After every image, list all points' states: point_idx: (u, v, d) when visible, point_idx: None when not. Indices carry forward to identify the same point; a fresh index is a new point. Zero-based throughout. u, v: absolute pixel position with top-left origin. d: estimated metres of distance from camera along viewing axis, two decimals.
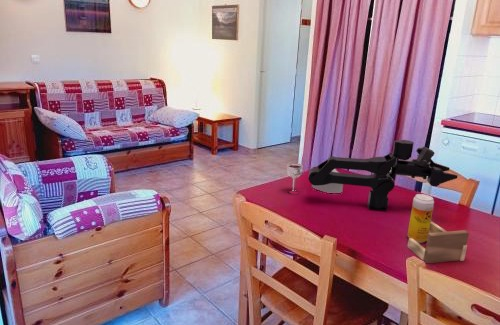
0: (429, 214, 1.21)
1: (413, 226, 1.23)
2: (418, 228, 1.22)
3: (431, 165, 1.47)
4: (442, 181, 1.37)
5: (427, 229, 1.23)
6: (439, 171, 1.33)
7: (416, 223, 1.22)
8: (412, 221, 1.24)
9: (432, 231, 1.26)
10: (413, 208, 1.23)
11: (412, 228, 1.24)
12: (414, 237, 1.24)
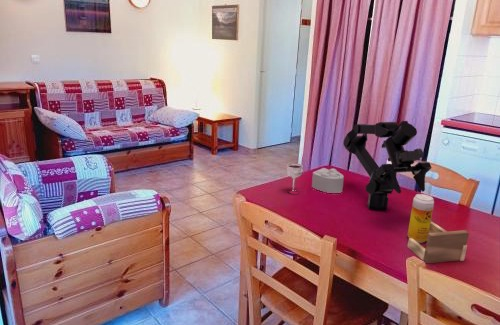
0: (429, 214, 1.21)
1: (413, 226, 1.23)
2: (418, 228, 1.22)
3: (419, 173, 1.33)
4: (387, 181, 1.32)
5: (427, 229, 1.23)
6: (384, 169, 1.28)
7: (416, 223, 1.22)
8: (412, 221, 1.24)
9: (432, 231, 1.26)
10: (413, 208, 1.23)
11: (412, 228, 1.24)
12: (414, 237, 1.24)
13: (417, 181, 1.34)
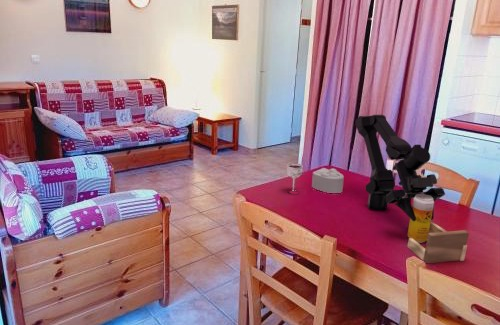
0: (429, 214, 1.21)
1: (413, 226, 1.23)
2: (418, 228, 1.22)
3: None
4: (402, 208, 1.26)
5: (427, 229, 1.23)
6: (394, 196, 1.22)
7: (416, 223, 1.22)
8: (412, 221, 1.24)
9: (432, 231, 1.26)
10: (413, 208, 1.23)
11: (412, 228, 1.24)
12: (414, 237, 1.24)
13: None
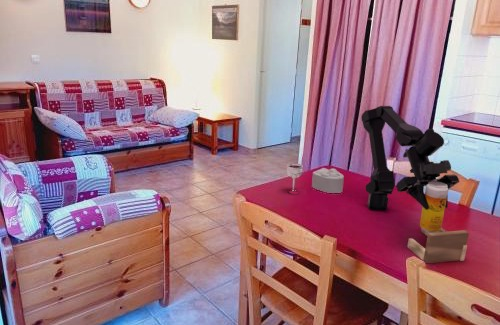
0: (443, 202, 1.14)
1: (426, 215, 1.17)
2: (431, 216, 1.16)
3: None
4: (413, 196, 1.19)
5: (441, 218, 1.16)
6: (406, 183, 1.16)
7: (429, 212, 1.16)
8: (425, 210, 1.17)
9: None
10: (426, 195, 1.16)
11: (425, 217, 1.17)
12: (427, 227, 1.17)
13: None
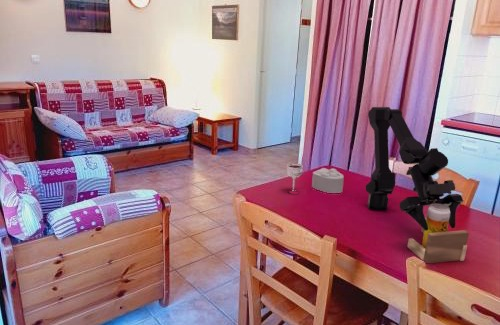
0: (445, 225, 1.13)
1: None
2: None
3: None
4: (413, 216, 1.18)
5: None
6: (409, 203, 1.14)
7: None
8: (427, 232, 1.16)
9: None
10: (427, 218, 1.16)
11: None
12: None
13: None
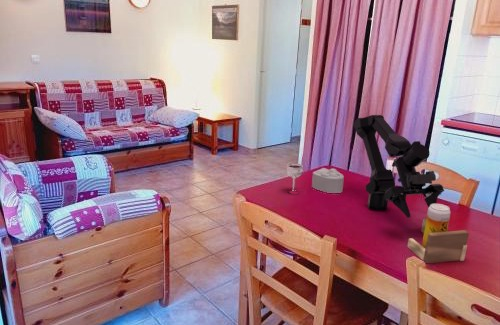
0: (445, 225, 1.13)
1: None
2: None
3: (430, 196, 1.27)
4: (397, 204, 1.26)
5: None
6: (393, 192, 1.23)
7: None
8: (427, 232, 1.16)
9: None
10: (427, 218, 1.16)
11: None
12: None
13: (428, 204, 1.27)
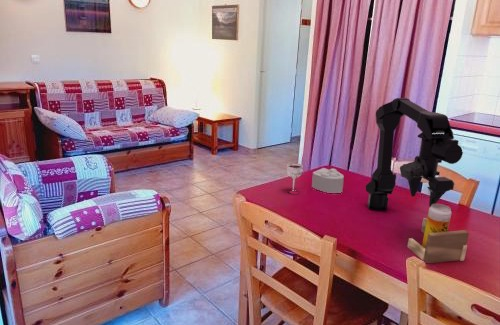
0: (446, 225, 1.13)
1: None
2: None
3: None
4: None
5: None
6: None
7: None
8: (427, 232, 1.16)
9: None
10: (428, 218, 1.16)
11: None
12: None
13: None
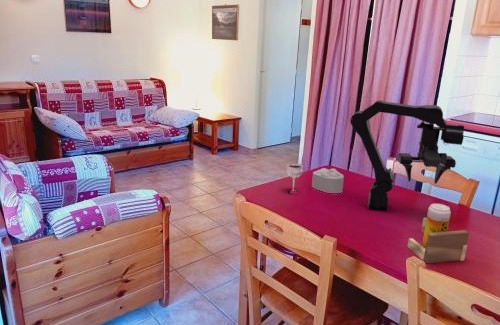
0: (445, 225, 1.14)
1: None
2: None
3: (440, 167, 1.38)
4: (405, 166, 1.42)
5: None
6: (401, 162, 1.38)
7: None
8: (427, 232, 1.16)
9: None
10: (428, 218, 1.16)
11: None
12: None
13: (436, 171, 1.41)
